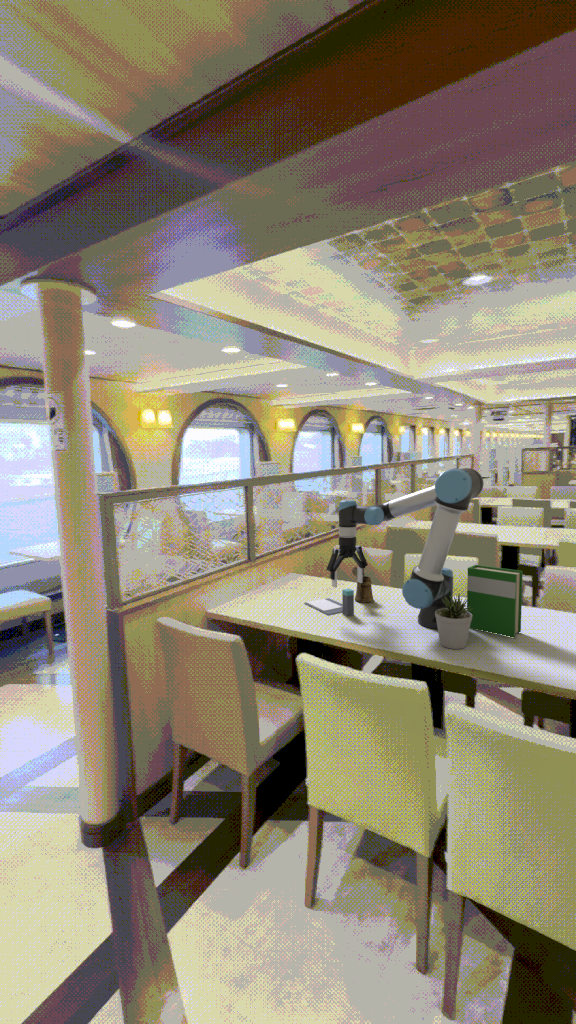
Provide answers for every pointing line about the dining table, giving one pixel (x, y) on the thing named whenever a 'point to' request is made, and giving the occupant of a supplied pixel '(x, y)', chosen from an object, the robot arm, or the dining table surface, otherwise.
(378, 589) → the dining table surface
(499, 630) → the hardback book
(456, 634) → the potted plant
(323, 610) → the writing mat
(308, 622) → the dining table surface
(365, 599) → the wooden mug
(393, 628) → the dining table surface
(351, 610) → the marker
